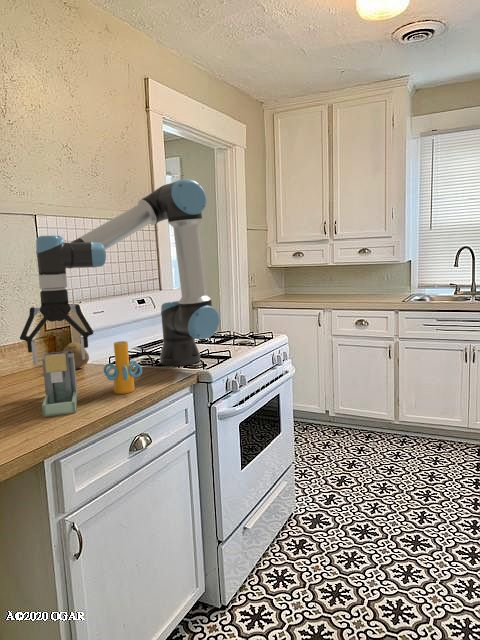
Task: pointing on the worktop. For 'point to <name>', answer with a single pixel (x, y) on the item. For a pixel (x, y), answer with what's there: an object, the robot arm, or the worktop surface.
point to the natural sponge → (77, 354)
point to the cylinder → (122, 369)
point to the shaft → (58, 375)
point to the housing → (61, 389)
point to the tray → (59, 407)
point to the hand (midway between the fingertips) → (59, 361)
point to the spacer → (55, 362)
